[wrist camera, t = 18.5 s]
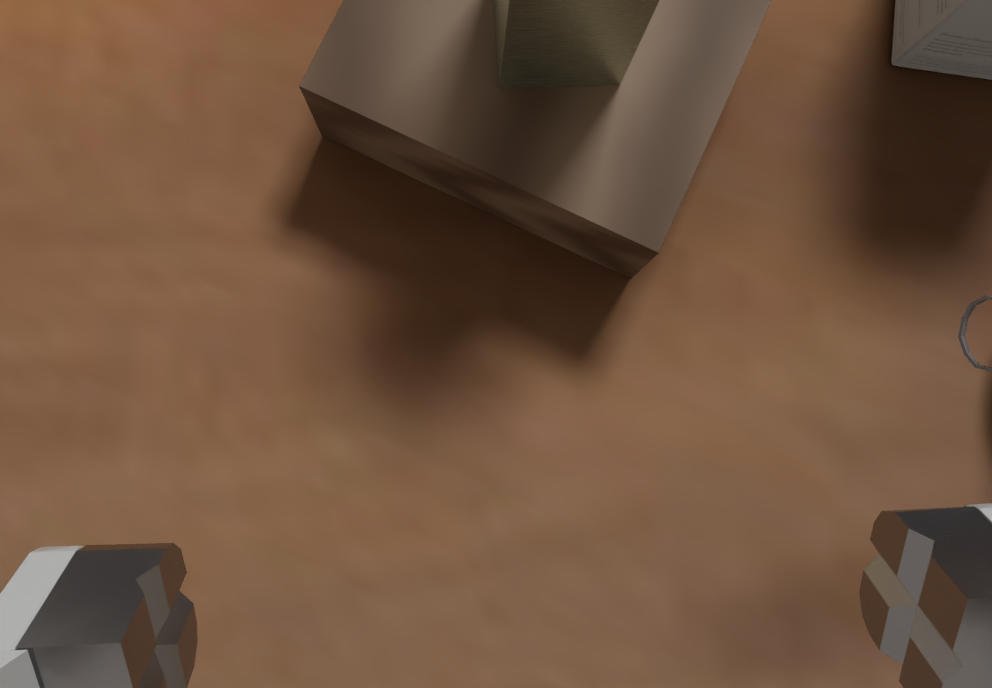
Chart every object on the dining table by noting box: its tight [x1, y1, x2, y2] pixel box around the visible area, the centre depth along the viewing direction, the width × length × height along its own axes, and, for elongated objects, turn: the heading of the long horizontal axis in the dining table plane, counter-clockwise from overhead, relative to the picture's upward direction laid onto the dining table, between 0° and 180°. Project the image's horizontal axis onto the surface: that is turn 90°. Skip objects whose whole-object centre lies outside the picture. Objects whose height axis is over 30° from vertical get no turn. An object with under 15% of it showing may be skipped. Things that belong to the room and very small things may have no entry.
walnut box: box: [299, 0, 772, 279], centre depth 37 cm, size 16×14×6 cm
